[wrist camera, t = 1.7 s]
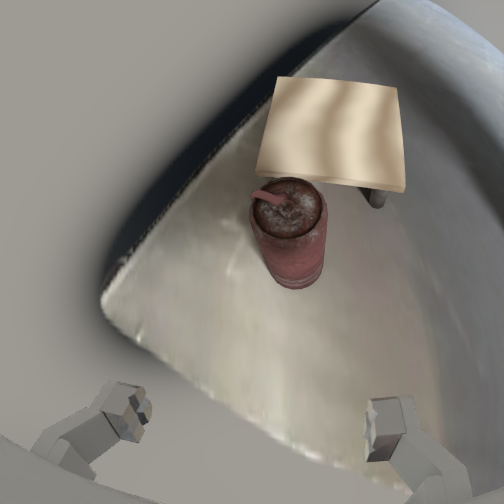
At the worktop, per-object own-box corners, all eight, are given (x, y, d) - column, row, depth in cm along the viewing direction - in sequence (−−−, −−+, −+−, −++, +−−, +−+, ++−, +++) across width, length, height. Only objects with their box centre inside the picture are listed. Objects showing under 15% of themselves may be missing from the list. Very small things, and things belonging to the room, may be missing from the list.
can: (276, 233, 38) (258, 165, 26) (328, 247, 37) (335, 181, 24) (260, 281, 37) (232, 230, 24) (314, 296, 35) (315, 253, 22)
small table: (388, 123, 42) (396, 87, 35) (391, 217, 37) (405, 187, 30) (283, 112, 45) (277, 76, 39) (264, 202, 40) (255, 169, 34)
